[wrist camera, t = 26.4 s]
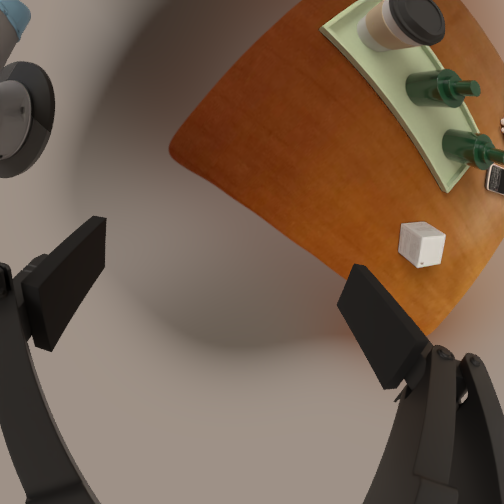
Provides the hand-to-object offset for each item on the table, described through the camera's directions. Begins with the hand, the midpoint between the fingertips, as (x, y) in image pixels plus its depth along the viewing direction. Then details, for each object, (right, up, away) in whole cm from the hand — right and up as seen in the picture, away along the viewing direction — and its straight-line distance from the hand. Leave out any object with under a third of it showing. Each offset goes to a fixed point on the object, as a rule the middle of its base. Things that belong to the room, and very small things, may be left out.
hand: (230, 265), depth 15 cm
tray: (+30, +29, +25) cm, 49 cm away
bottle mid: (+30, +29, +24) cm, 49 cm away
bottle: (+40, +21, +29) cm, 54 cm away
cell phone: (+58, +18, +34) cm, 69 cm away
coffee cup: (+21, +37, +20) cm, 47 cm away
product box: (+32, +4, +37) cm, 49 cm away
